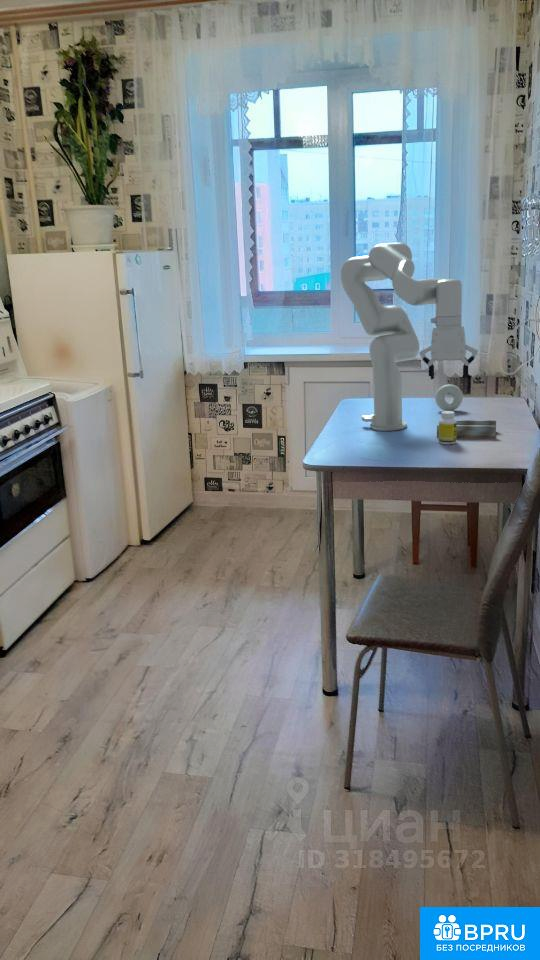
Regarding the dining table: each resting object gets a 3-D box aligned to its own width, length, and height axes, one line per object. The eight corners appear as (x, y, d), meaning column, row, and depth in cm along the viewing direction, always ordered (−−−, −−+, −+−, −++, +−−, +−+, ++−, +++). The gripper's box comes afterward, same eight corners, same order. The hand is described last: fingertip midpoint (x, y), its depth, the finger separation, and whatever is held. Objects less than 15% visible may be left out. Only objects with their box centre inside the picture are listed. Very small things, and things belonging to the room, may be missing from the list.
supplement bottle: (456, 444, 238) (456, 413, 236) (438, 445, 240) (438, 414, 237) (456, 440, 244) (456, 410, 241) (438, 440, 245) (438, 410, 242)
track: (436, 437, 249) (436, 425, 248) (439, 430, 257) (439, 419, 256) (494, 438, 243) (495, 426, 242) (495, 431, 251) (496, 420, 250)
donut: (462, 409, 286) (462, 382, 283) (463, 411, 283) (463, 384, 280) (434, 410, 288) (434, 384, 285) (435, 412, 284) (435, 385, 282)
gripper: (417, 324, 230) (418, 380, 235) (477, 322, 225) (476, 380, 230) (420, 321, 237) (421, 376, 242) (479, 319, 232) (478, 376, 237)
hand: (448, 378), depth 236 cm, fingers open, 9 cm apart
